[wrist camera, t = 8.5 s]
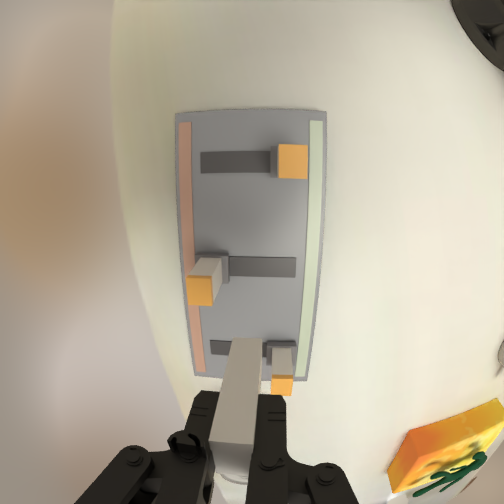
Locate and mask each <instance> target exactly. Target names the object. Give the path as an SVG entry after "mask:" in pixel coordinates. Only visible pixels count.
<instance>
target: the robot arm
mask: <svg viewBox="0 0 504 504" xmlns="http://www.w3.org/2000/svg"><path fill="white" fill-rule="evenodd" d="M452 4H453V7H454V10H455V13H456V15H457V17H458V19H459V21H460V23H461V25H462V26H463V28H464V30H465V31H466V33H467V34H468V36H469V37H470V38H471V40H472V41H473V42H474V44H475V45H476V46H477V47H478V49H479V50H480V51H481V52H482V53H483V54H484V55H485V56H486V57H487V58H488V59H489V60H490V61H491V62H492V63H493V64H494V65H496V66H497V67H498V68H500V69H501V70H503V71H504V0H452ZM261 372H262V338H241V337H233V340H232V344H231V348H230V352H229V356H228V361H227V365H226V369H225V373H224V378H223V382H222V386H221V390H220V392H213V391H204V390H201V391H200V393H199V394H198V395H197V396H196V397H195V398H194V401H193V404H192V408H191V410H190V414H189V416H188V419H187V422H186V425H185V429H184V430H181V431H178V432H175V433H174V434H172V435H171V436H170V437H169V439H168V440H167V442H168V444H169V447H170V450H167V451H160V452H148V451H147V450H146V449H145V448H143V447H141V446H137V445H131V446H127V447H125V448H123V449H122V450H121V451H120V452H119V453H118V454H117V455H116V457H115V458H114V459H113V460H112V461H111V462H110V463H109V465H108V466H107V467H106V468H105V469H104V470H103V472H102V473H101V474H100V475H99V476H98V477H97V479H96V480H95V481H94V482H93V483H92V484H91V485H90V486H89V488H88V489H87V490H86V491H85V492H84V493H83V494H82V496H80V498H79V499H78V500H77V501H76V502H75V503H74V504H210V503H211V498H212V493H213V488H214V479H213V477H214V472H215V471H216V473H220V474H229V475H240V476H248V485H247V494H246V502H245V504H359V503H358V501H357V498H356V496H355V494H354V492H353V490H352V488H351V486H350V484H349V482H348V479H347V477H346V475H345V473H344V471H343V470H342V469H341V467H339V466H337V465H336V464H333V463H320V464H318V465H316V466H310V465H305V464H302V463H299V462H296V461H295V460H293V459H292V458H291V457H290V456H289V454H288V452H287V438H286V402H285V401H284V399H283V397H282V395H270V394H260V388H261Z"/></svg>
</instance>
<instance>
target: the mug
mask: <svg viewBox="0 0 504 504" xmlns="http://www.w3.org/2000/svg"><path fill="white" fill-rule="evenodd" d="M498 360H499V362H500V363H501V364H502V366H503V367H504V341H503V343H502V345H501V347H500V350H499V354H498Z"/></svg>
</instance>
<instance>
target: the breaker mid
mask: <svg viewBox="0 0 504 504" xmlns="http://www.w3.org/2000/svg"><path fill="white" fill-rule="evenodd" d="M194 256H195V266H194V267H193V268H192V270H191V271H190V273H189V274H188V275H187V277H186V287H187V297H188V305H199V306H212V305H213V303H214V300H215V298H216V296H217V293H218V291H219V288H220V286H221V284H229V281H230V273H229V254H227V253H196V254H195V255H194Z"/></svg>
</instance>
